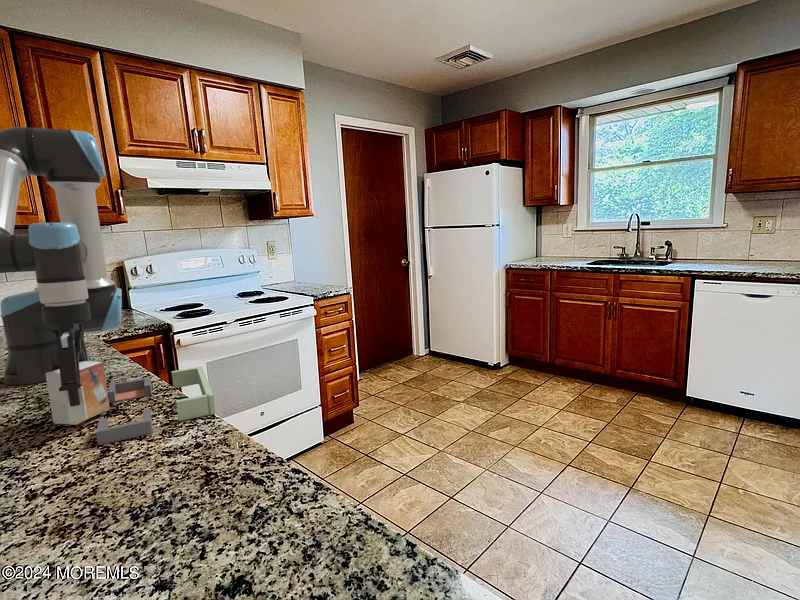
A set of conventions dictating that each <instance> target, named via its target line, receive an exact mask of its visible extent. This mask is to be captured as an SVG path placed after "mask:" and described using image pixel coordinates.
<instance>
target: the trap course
mask: <svg viewBox="0 0 800 600" xmlns="http://www.w3.org/2000/svg"><path fill="white" fill-rule="evenodd" d="M171 377H172V378H171V379H172V387H173V389H177V388H183V387H188V386H194V385H199V390H200V392H201V395H197V396H192V397H191V396H190V397H186V398H181V399H176V400H175V403H176V410H177V411H176V412H177V420H178V422H181V421H186V420H191V419H195V418H200V417H205V416H208V415H214V414H216V409H215V398H214V394H213V391H212V388H211V386H210V384H209V380H208V379H207V376H206V373H205V371H204V369H203V366H195V367H190V368H185V369H177V370H173V371H172V370H171ZM151 387H152V381H151V377H145V378H144V377H143V378H138V379H137V378H136V379H132V380H131V379H130V380H126V381H125V380H124V381H120V382H119V381H118V382H114V383H109V384H108V387H107V393H108V400H109V404H112V403H117V402H123V400H124V401H128V400H134V399H139V398H144V397H150V396H152V395H153V394H152V388H151ZM152 419H153V418H152V413H151V408H148V409H144V410H142V420H138V421H133V422H128V423H124V424H119V425H118V424H117V425H114V426H110V427H109V421H108V420H109V419H108V417H103V418H99V421H98V424H97V428H96V432H95V435H96V443H97V446H102V445H107V444H111V443H115V442H119V441H123V440H124V441H125V440H129V439H134V438H137V437H141V436H147V435H151V434H152V433H153V431H152V429H153V424H152V423H153V420H152Z"/></svg>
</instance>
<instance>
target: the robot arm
mask: <svg viewBox="0 0 800 600" xmlns="http://www.w3.org/2000/svg"><path fill="white" fill-rule="evenodd" d="M106 175H107V174H106V169H105V166H104V163H103V159H102V156H101V152H100V150H99V146H98V143H97V141H96V138H95V136H94V135H93V134H91V133H90V132H88V131H80V130H75V129H61V128H59V129H58V128H45V127H43V128H41V127H28V126H15V127H14V126H13V127H8V128H5V129H2V130H0V274H5V273H18V272H23V273H25V272H34V273H35V278H36V283H37V287H34V290H32V291H31V290H30V291H25V292H21V293H17V294H12V295H9V296H8V295H7V296H6V297H4V298H3V299H1V301H0V313H1V314H0V317H1V320H2V321H1V322H2V325H3V330H4V336H5V340H6V341H5V342H6V346H7V352H8V355H7V358H6V362H5V366H4V371H3V381H4V384H6V385H11V386H21V385H32V384H39V383H43V382H44V383H45V382H47V380H46V373H47V372H52V371H55V370H58V369H60V377H61V387H60V388H59V391H65V397H66V403H67V409H68V415H69V422H75V421H81V420H85V421H86V419H87V413H86V406H85V400H84V393H83V387H82V386H81V384H80V369H79V362H82V361H89V358H88V357H89V356H88V353H87V347H86V341H85V338H84V334H85V333H92V332H93V333H94V332H99V331H100V332H104V331H107V330H113V329H117V328H119V327H120V325H121V324H122V306H123V305H122V304H123V303H122V301H123V299H122V296H123V295H122V294H123V293H122V292H123V291H122V288H119V287H116V283H115V281H113V280H112V279H111V278H109V277H108V271H107V266H106V257H105V252H104V251H105V250H104V245H103V236H102V230H101V225H100V224H101V223H100V218H99V209H98V204H97V203H98V202H97V197H96V195H97V194H96V189H98V188H99V187H100V185H102V184H101V179H103V178H105V177H106ZM27 176H39V177H40V176H42V177H45V182H46V184H47V185H49V186H50V187H51V188H52V189H53V190H54V191H55V192H54V193H55V197H56V203H57V204H56V205H57V209H58V214H59V215H58V216H59V221H60V222H33V223H30V224H29V225H28V233H27V234H14V231H15V224H16V217H17V209H18V203H19V195H20V189H21V188H20V187H21V183H22V182H23V181H24V180H25V179H26V178H27ZM72 381H73V382H72ZM68 382H70V383H68ZM87 420H88V419H87Z"/></svg>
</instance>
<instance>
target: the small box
mask: <svg viewBox="0 0 800 600" xmlns="http://www.w3.org/2000/svg"><path fill="white" fill-rule="evenodd" d="M79 369H80V384H81V386H82V387H83V393H84V400H85V406H86V413H87V419H86V420H90V419H91V418H93V417H95V416H97V415H98V416H99V415H100V414H102V413H105V412H107V411H109V410H110V409H111V407H110V403H109V400H108V393H107V392H108V386H107V379H106V374H105V366H104V362H103V361H89V360H88V361H82V362H79ZM46 380H47V381H46V385H47V390H48V391H47V392H48V398H49V403H50V409H51V410H50V411H51V417H52V422H53V424H56V425H57V424H60V425H74V426H77V425H79V424H80V423H83V422H85V421H86V420H81V421H75V422H69V415H68V409H67V403H66V397H65V391H59V388H60V387H61V377H60V369H58V370H55V371H52V372H47V373H46ZM72 382H73V381H72ZM68 383H70V382H68Z"/></svg>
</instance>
